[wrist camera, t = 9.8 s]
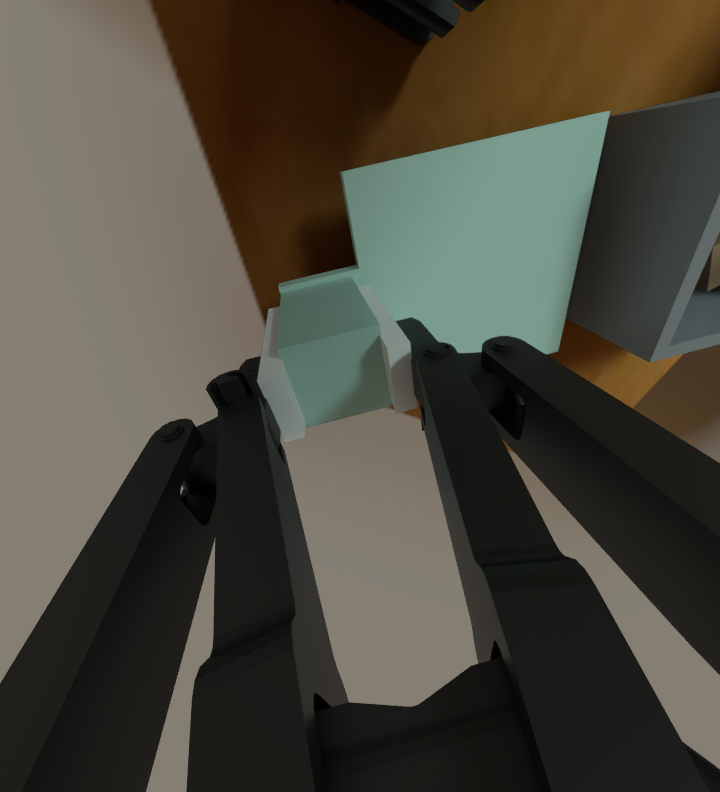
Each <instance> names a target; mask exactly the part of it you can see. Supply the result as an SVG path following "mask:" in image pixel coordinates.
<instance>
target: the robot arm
mask: <svg viewBox="0 0 720 792" xmlns="http://www.w3.org/2000/svg"><path fill="white" fill-rule="evenodd" d="M358 288H359V290H360V292H361V294H362V295H363V297H364V299H365V300H366V302H367V304H368V305H369V307H370V309H371V310H372V312H373V314H374V316H375V317H376V319H377V321H378V322H379V324H380V329H381V334H380V340H381V346H382V352H383V358H384V365H385V371H386V377H387V383H388V389H389V395H390V399H391V401H392V403H393V405H394V408H395V410H396V412H397V413H401V412H405V411H409V410H412V409H416V408H417V404H416V398H417V400H418V402H419V403H420V413H421V423H422V431H423V430H424V431H425V435H426V439H427V443H428V447H429V451H430V455H431V459H432V463H433V467H434V472H435V476H436V480H437V484H438V487H439V492H440V496H441V500H442V504H443V508H444V512H445V517H446V521H447V525H448V529H449V532H450V537H451V541H452V545H453V549H454V553H455V557H456V562H457V566H458V570H459V574H460V578H461V582H462V586H463V590H464V594H465V598H466V602H467V607H468V611H469V615H470V619H471V624H472V629H473V637H474V644H475V649H476V654H477V659H478V664H476V665H473V666H470V667H469V668H468V669H467V670H465V671H464V672H462V673H461V674H460V675H458V676H457V677H456V678H454V679H453V680H452V681H450V682H449V683H448V684H446V685H445V686H443V687H442V688H441V689H439V690H438V691H437V692H435V693H434V694H433V695H431V696H430V697H429V698H427V699H426V700H424V701H423V702H422V703H420V704H419V705H416V706H413V707H403V706H389V705H376V704H362V703H349V702H348V699H347V695H346V692H345V688H344V685H343V682H342V680H341V677H340V674H339V672H338V669H337V666H336V663H335V660H334V656H333V653H332V648H331V644H330V640H329V636H328V631H327V627H326V623H325V619H324V616H323V610H322V606H321V602H320V598H319V594H318V590H317V585H316V582H315V577H314V573H313V568H312V564H311V560H310V556H309V552H308V548H307V543H306V540H305V535H304V531H303V527H302V522H301V518H300V514H299V509H298V505H297V501H296V497H295V493H294V489H293V484H292V480H291V476H290V472H289V468H288V463H287V459H286V455H285V451H284V449H283V447H282V445H281V442H280V433H281V435H282V437H283V439H284V441H285V443H287V442H291V441H294V440H298V439H302V438H305V437H306V435H305V419H304V416H303V414H302V411H301V409H300V406H299V403H298V401H297V398H296V396H295V393H294V390H293V388H292V385H291V383H290V380H289V377H288V375H287V372H286V369H285V367H284V364H283V362H282V359H281V360H280V357H279V355H278V352H277V339H278V327H279V314H280V306H278V307H274V308H270V309H269V310H268V316H267V322H266V329H265V335H264V341H263V347H262V354H261V356H259V357H255V358H251V359H247V360H246V361H245V362H244V363H243V364H242V365H241V366H240V369H239V370H234V371H230V372H226V373H224V374H222V375H219V376H218V377H216V378H214V379H213V380H212V381H211V382H210V383H209V384H208V385H207V388H206V390H207V392H208V394H209V395H210V397H211V399H212V400H213V402H214V404H215V406H216V407H217V409H218V417H216V418H214V419H212V420H210V421H208V422H206V423H204V424H202V425H199V426H197V427H196V426H195V425H194V423H193V422H192V420H189V419H179V420H176V421H172V422H169V423H168V424H165V425H164V426H162V427H161V428H160V429H159V430H157V431H156V432H155V433H154V434H153V435H152V437H151V438H150V439H149V441H148V443H147V444H146V446H145V448H144V449H143V451H142V453H141V454H140V456H139V457H138V459H137V461H136V462H135V464H134V466H133V467H132V469H131V471H130V472H129V474H128V475H127V477H126V479H125V480H124V482H123V484H122V485H121V487H120V489H119V490H118V492H117V494H116V495H115V497H114V498H113V500H112V502H111V504H110V505H109V507H108V508H107V510H106V511H105V513H104V515H103V516H102V518H101V520H100V521H99V523H98V525H97V526H96V528H95V529H94V531H93V533H92V534H91V536H90V538H89V539H88V541H87V542H86V544H85V546H84V547H83V549H82V551H81V552H80V554H79V556H78V557H77V559H76V560H75V562H74V564H73V565H72V567H71V569H70V570H69V572H68V574H67V575H66V577H65V578H64V580H63V582H62V583H61V585H60V587H59V588H58V590H57V592H56V594H55V595H54V596H53V598H52V600H51V601H50V603H49V605H48V606H47V608H46V610H45V611H44V613H43V614H42V616H41V618H40V619H39V621H38V623H37V624H36V626H35V628H34V629H33V631H32V633H31V634H30V636H29V637H28V639H27V641H26V642H25V644H24V646H23V647H22V649H21V650H20V652H19V654H18V655H17V657H16V659H15V660H14V662H13V664H12V665H11V667H10V668H9V670H8V672H7V673H6V675H5V677H4V678H3V680H2V682H1V683H0V792H146V789H147V785H148V782H149V778H150V774H151V771H152V767H153V763H154V759H155V756H156V752H157V749H158V745H159V741H160V738H161V734H162V730H163V726H164V723H165V719H166V715H167V711H168V708H169V704H170V701H171V697H172V694H173V690H174V686H175V683H176V679H177V675H178V672H179V668H180V664H181V660H182V657H183V653H184V649H185V645H186V642H187V638H188V635H189V631H190V627H191V624H192V620H193V617H194V613H195V609H196V606H197V602H198V598H199V594H200V591H201V587H202V583H203V580H204V576H205V573H206V569H207V565H208V561H209V557H210V554H211V551H212V547H213V543H214V539H216V540H215V586H214V636H213V637H214V638H213V649H212V652H211V655H210V657H209V658H208V659H207V660H206V661H205V662H204V663H203V665H201V666H200V668H199V671H198V673H197V676H196V679H195V682H194V690H193V696H192V708H191V726H190V742H189V759H188V776H187V792H720V769H718V768H717V767H716V766H715V765H713V764H712V763H711V762H709V761H708V760H707V759H705V758H704V757H702V756H701V755H700V754H698V753H697V752H696V751H694V750H693V749H692V748H690V747H689V746H687V745H686V744H685V743H683V742H682V741H681V739H680V737H679V735H678V733H677V732H676V730H675V728H674V726H673V724H672V723H671V721H670V719H669V717H668V715H667V714H666V712H665V710H664V708H663V707H662V705H661V703H660V701H659V699H658V697H657V696H656V694H655V692H654V690H653V688H652V687H651V685H650V683H649V681H648V679H647V678H646V676H645V674H644V672H643V671H642V669H641V667H640V665H639V663H638V661H637V660H636V658H635V656H634V654H633V653H632V651H631V649H630V647H629V645H628V643H627V642H626V640H625V638H624V636H623V634H622V633H621V631H620V629H619V627H618V626H617V623H616V622H615V620H614V618H613V616H612V614H611V613H610V611H609V609H608V608H607V605H606V604H605V602H604V600H603V599H602V596H601V595H600V593H599V591H598V589H597V588H596V586H595V584H594V582H593V581H592V579H591V578H590V576H589V575H588V573H587V572H586V570H585V569H584V568H583V567H582V566H581V565H580V564H579V563H578V562H577V561H576V560H575V559H572V558H569V557H567V556H564V555H563V554H562V553H561V552H560V551H559V549H558V547H557V546H556V544H555V542H554V540H553V538H552V536H551V534H550V532H549V530H548V528H547V526H546V525H545V523H544V521H543V519H542V517H541V515H540V513H539V511H538V509H537V507H536V505H535V503H534V501H533V499H532V497H531V495H530V493H529V491H528V489H527V487H526V486H525V483H524V482H523V479H522V478H521V476H520V474H519V472H518V470H517V468H516V466H515V464H514V462H513V460H512V458H511V456H510V454H509V452H508V450H507V448H506V446H505V444H504V442H503V440H504V441H505V442H506V443H507V444H508V446H509V447H510V448H511V449H512V450H513V451H514V452H515V453H516V454H517V455H518V457H519V458H520V459H521V460H522V461H523V462H524V463H525V464H526V465H527V466H528V467H529V469H530V470H531V471H532V472H533V473H534V474H535V475H536V476H537V477H538V478H539V479H540V480H541V482H542V483H544V485H545V486H546V487H547V488H548V489H549V490H550V492H551V493H552V494H553V495H554V496H555V497H556V498H557V499H558V500H559V501H560V502H561V504H562V505H563V506H564V507H565V508H566V509H567V510H568V511H569V512H570V514H571V515H572V516H573V517H574V518H575V519H576V520H577V521H578V522H579V523H580V524H581V526H583V528H584V529H585V530H586V531H587V532H588V533H589V534H590V535H591V537H592V538H593V539H594V540H595V541H596V542H597V543H598V544H599V545H600V546H601V547H602V549H603V550H604V551H605V552H606V553H607V554H608V555H609V556H610V557H611V558H612V560H613V561H614V562H615V563H616V564H617V565H618V566H619V567H620V568H621V569H622V570H623V572H624V573H625V574H626V575H627V576H628V577H629V578H630V579H631V580H632V581H633V583H634V584H635V585H636V586H637V587H638V588H639V589H640V590H641V591H642V592H643V594H644V595H645V596H646V597H647V598H648V599H649V600H650V601H651V602H652V603H653V604H654V606H655V607H656V608H657V609H658V610H659V611H660V612H661V613H662V614H663V615H664V616H665V618H666V619H667V620H668V621H669V622H670V623H671V624H672V625H673V626H674V628H676V630H677V631H678V632H679V633H680V634H681V635H682V636H683V637H684V638H685V639H686V641H687V642H688V643H689V644H690V645H691V646H692V647H693V648H694V649H695V650H696V651H697V652H698V653H699V654H700V655H701V656H702V657H703V658H704V659H705V660H706V661H707V662H708V663H709V664H710V665H711V666H712V667H713V669H714V670H715V671H716V672H717V673H718V674H720V463H718V462H717V461H715V460H713V459H712V458H711V457H709V456H707V455H706V454H704V453H702V452H701V451H699V450H698V449H696V448H695V447H693V446H691V445H690V444H688V443H687V442H685V441H683V440H681V439H680V438H678V437H677V436H675V435H674V434H672V433H671V432H669V431H667V430H666V429H664V428H663V427H661V426H659V425H658V424H656V423H654V422H653V421H651V420H650V419H648V418H646V417H645V416H643V415H642V414H640V413H639V412H637V411H635V410H634V409H632V408H631V407H629V406H627V405H626V404H624V403H623V402H621V401H619V400H618V399H616V398H615V397H613V396H611V395H610V394H608V393H607V392H605V391H603V390H602V389H600V388H599V387H597V386H595V385H594V384H592V383H591V382H589V381H587V380H586V379H584V378H583V377H581V376H579V375H578V374H576V373H575V372H573V371H571V370H570V369H568V368H567V367H565V366H563V365H562V364H560V363H559V362H557V361H555V360H554V359H552V358H551V357H549V356H547V355H546V354H544V353H543V352H541V351H539V350H538V349H536V348H535V347H533V346H531V345H530V344H528V343H527V342H525V341H523V340H521V339H519V338H516V337H510V336H498V337H493V338H490V339H488V340H486V341H485V342H484V343H483V344H482V352H475V353H458V352H457V350H456V349H455V348H454V347H453V346H452V345H451V344H448V343H444V342H438V341H437V340H436V339H435V337H434V336H433V335H432V334H431V333H430V332H429V331H428V329H427V328H426V327H425V326H424V325H423V324H422V323H421V321H419V320H417V319H414V318H412V317H410V318H406V319H402V320H398V321H395V320H394V319H393V317H392V316H391V314H390V313H389V311H388V310H387V309H386V307H385V306H384V304H383V303H382V301H381V300H380V299H379V297H378V296H377V294H376V293H375V292H374V290H373V289H372V287H371V286H370V284H367V285H363V286H359V287H358ZM520 397H521V398H522V399H521V398H520ZM502 439H503V440H502ZM181 485H182V486H183V488H184V489H183V492H182V494H181V495H180V490H181Z"/></svg>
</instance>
